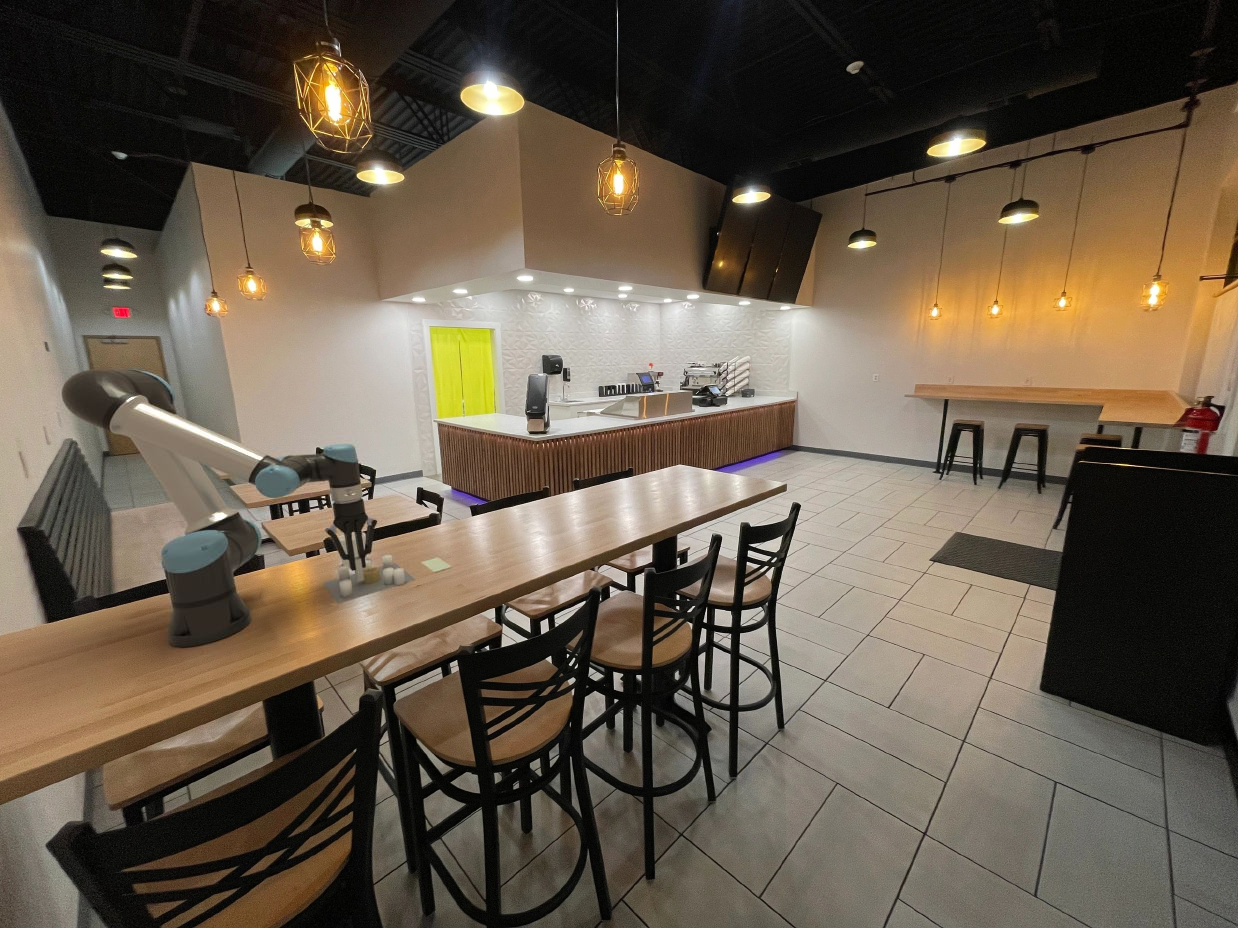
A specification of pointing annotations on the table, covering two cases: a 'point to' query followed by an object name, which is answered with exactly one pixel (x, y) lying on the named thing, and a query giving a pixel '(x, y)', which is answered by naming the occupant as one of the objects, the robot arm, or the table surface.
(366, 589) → the spacer board
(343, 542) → the white cup
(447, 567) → the mat
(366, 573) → the nut
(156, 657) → the table surface
